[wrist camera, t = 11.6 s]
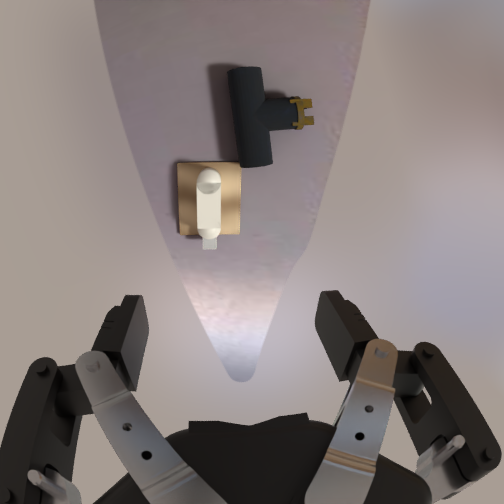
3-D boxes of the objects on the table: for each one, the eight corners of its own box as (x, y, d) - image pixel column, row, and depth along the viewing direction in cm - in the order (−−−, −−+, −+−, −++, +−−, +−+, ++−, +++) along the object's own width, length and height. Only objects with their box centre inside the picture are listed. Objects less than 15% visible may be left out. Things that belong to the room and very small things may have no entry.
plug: (198, 167, 41) (196, 170, 38) (220, 167, 42) (221, 170, 38) (199, 243, 47) (198, 253, 43) (220, 243, 47) (220, 253, 44)
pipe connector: (308, 63, 32) (318, 160, 39) (298, 70, 37) (308, 157, 44) (227, 68, 32) (240, 169, 38) (226, 75, 37) (238, 164, 43)
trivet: (177, 162, 41) (177, 163, 41) (241, 162, 42) (241, 162, 42) (180, 233, 46) (180, 235, 46) (239, 232, 47) (239, 234, 47)
